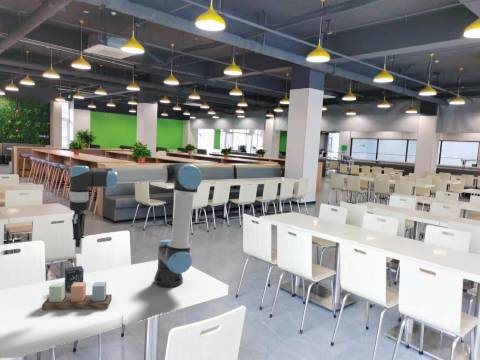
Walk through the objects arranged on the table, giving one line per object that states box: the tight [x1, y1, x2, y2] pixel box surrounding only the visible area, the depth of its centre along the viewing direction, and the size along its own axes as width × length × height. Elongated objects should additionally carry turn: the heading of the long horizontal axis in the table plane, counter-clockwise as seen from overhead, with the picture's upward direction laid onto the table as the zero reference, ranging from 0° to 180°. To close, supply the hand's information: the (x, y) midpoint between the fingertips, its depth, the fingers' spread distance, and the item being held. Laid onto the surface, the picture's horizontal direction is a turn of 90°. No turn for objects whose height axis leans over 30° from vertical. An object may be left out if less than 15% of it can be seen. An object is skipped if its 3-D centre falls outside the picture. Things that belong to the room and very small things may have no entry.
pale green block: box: [48, 281, 66, 303], centre depth 166 cm, size 5×5×7 cm
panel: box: [41, 294, 113, 311], centre depth 168 cm, size 27×10×2 cm, turn 99°
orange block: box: [70, 281, 87, 302], centre depth 168 cm, size 5×5×7 cm
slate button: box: [91, 281, 107, 301], centre depth 169 cm, size 5×5×7 cm
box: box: [64, 265, 85, 293], centre depth 186 cm, size 8×6×11 cm
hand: (78, 253), depth 166 cm, fingers closed
